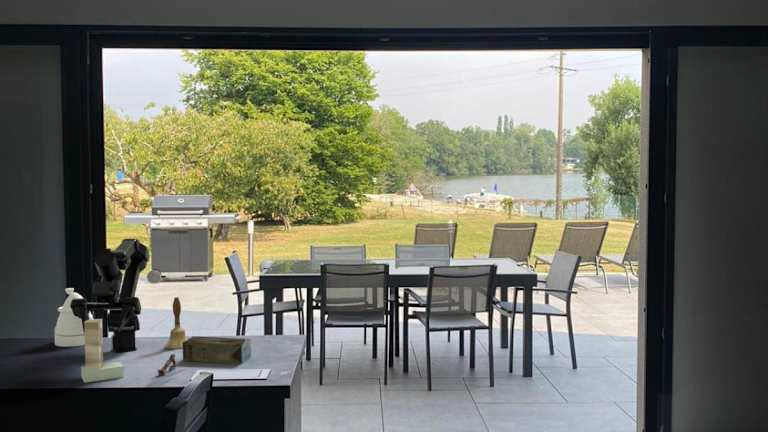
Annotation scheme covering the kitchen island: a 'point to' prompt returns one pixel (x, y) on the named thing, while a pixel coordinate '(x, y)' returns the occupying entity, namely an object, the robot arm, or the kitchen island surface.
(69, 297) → the honey pot
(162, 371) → the wooden post with brackets
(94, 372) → the pale green block
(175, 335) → the hand bell
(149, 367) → the kitchen island surface
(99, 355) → the beech post
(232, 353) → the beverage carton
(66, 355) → the kitchen island surface
